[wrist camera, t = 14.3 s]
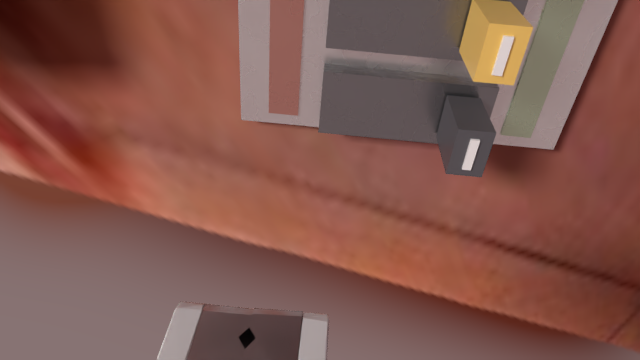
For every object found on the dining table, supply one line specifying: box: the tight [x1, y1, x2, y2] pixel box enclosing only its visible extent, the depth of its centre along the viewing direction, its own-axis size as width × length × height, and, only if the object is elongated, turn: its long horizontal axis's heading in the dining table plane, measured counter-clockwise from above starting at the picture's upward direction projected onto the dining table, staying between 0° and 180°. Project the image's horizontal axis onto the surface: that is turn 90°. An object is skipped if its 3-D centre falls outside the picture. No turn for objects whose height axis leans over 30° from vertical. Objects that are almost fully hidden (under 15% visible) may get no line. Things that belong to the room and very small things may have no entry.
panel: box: [238, 0, 618, 150], centre depth 34 cm, size 20×26×3 cm
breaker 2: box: [459, 0, 533, 85], centre depth 30 cm, size 4×2×5 cm
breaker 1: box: [436, 95, 496, 177], centre depth 35 cm, size 4×2×5 cm
